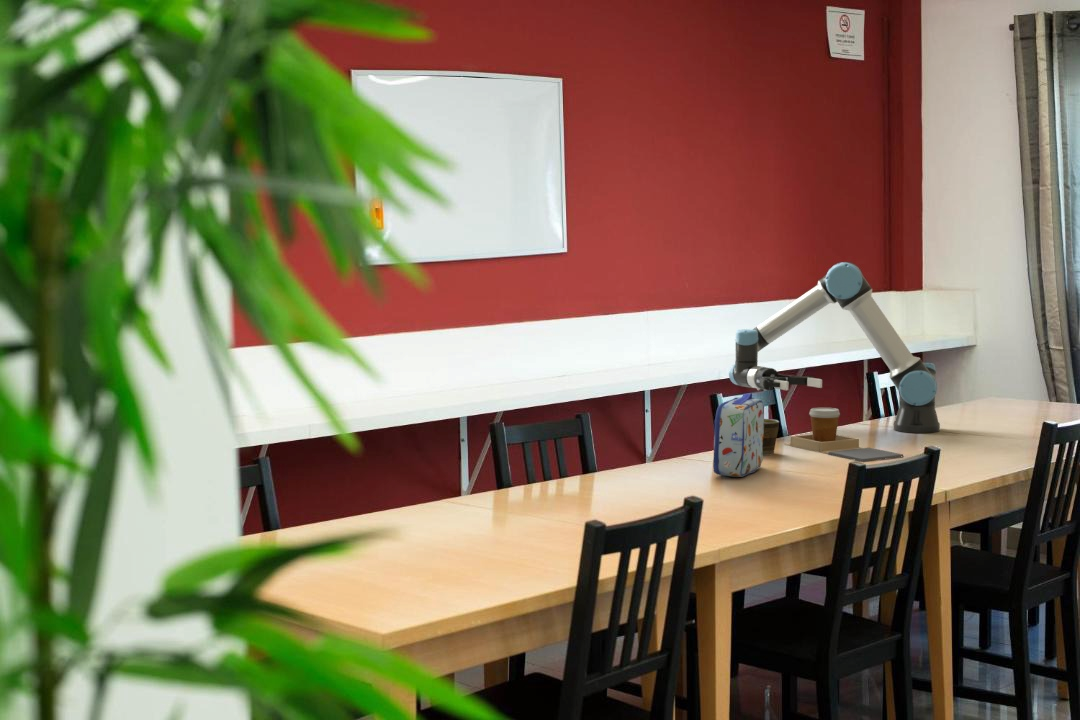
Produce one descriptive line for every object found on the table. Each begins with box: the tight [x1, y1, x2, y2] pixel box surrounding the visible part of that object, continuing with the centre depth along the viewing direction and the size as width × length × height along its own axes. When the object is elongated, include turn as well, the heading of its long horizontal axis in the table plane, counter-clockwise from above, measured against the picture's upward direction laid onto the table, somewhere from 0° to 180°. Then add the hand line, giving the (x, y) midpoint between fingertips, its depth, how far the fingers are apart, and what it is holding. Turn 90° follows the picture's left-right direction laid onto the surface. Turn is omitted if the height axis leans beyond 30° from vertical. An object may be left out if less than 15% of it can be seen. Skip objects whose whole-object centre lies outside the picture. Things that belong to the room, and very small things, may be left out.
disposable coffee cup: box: [808, 407, 841, 442], centre depth 407 cm, size 10×10×12 cm
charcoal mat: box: [827, 447, 904, 463], centre depth 390 cm, size 16×15×1 cm
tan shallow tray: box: [783, 433, 862, 455], centre depth 407 cm, size 15×21×3 cm
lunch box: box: [712, 392, 765, 478], centre depth 364 cm, size 28×10×22 cm, turn 158°
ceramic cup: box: [762, 418, 780, 456], centre depth 395 cm, size 13×10×10 cm
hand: (804, 384), depth 414 cm, fingers open, 13 cm apart
